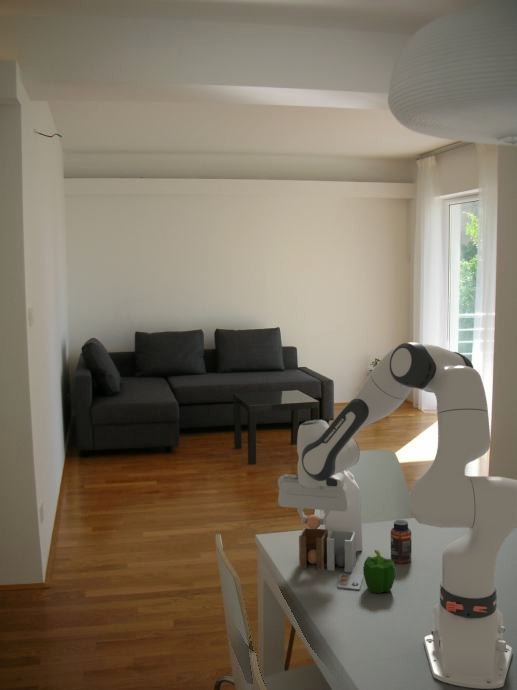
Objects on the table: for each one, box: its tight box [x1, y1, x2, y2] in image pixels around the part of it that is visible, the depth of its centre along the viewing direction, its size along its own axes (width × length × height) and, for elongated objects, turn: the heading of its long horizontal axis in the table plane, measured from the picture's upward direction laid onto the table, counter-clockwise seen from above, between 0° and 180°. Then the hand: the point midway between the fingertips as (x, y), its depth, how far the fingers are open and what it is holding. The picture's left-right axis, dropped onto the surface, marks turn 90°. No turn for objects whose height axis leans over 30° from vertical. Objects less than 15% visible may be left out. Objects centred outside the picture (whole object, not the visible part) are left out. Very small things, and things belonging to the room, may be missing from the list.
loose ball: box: [306, 514, 320, 529], centre depth 201 cm, size 4×4×4 cm
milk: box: [319, 470, 364, 552], centre depth 215 cm, size 12×12×26 cm
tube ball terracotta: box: [307, 549, 317, 565], centre depth 202 cm, size 4×4×4 cm
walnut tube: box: [298, 527, 328, 570], centre depth 202 cm, size 7×7×9 cm
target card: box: [336, 573, 364, 591], centre depth 190 cm, size 8×6×1 cm
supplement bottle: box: [390, 519, 413, 564], centre depth 203 cm, size 6×6×11 cm
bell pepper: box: [362, 549, 396, 594], centre depth 185 cm, size 8×8×10 cm
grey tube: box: [326, 530, 357, 573], centre depth 200 cm, size 7×7×9 cm
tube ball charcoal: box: [334, 552, 345, 567], centre depth 200 cm, size 4×4×4 cm
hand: (313, 523), depth 201 cm, fingers closed on loose ball, 4 cm apart
